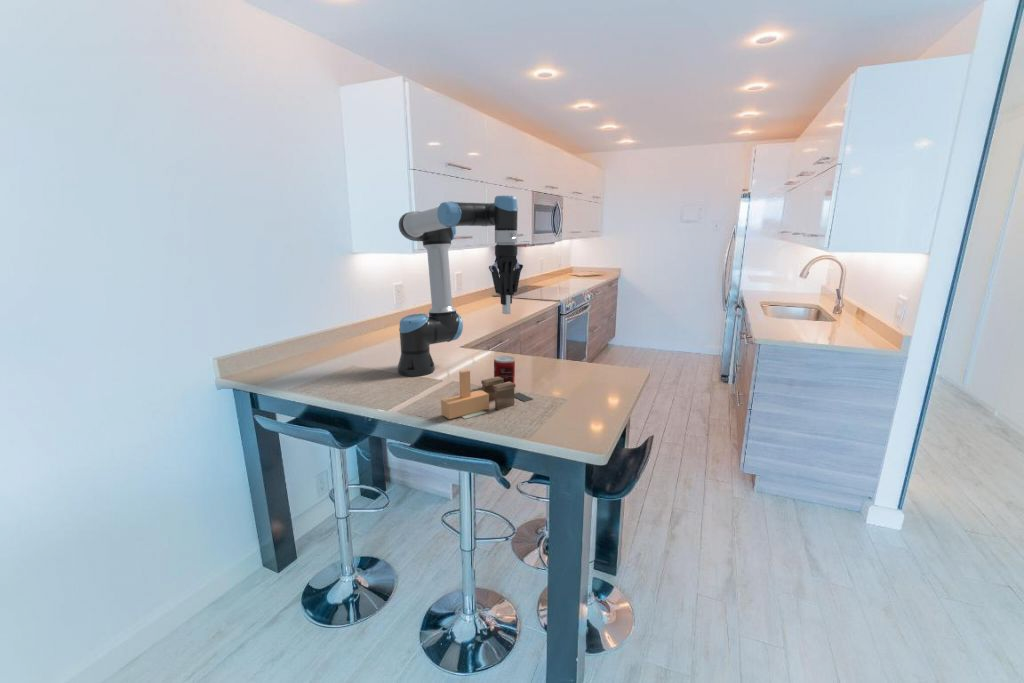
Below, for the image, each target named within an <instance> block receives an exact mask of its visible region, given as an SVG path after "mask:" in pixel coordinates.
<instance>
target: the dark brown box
mask: <svg viewBox="0 0 1024 683" xmlns="http://www.w3.org/2000/svg"><path fill="white" fill-rule="evenodd" d="M502 382H504V379H503V378H501V377H494V376H493V377H490V378H489V377H488V378H486V379H482V380H481V383H480V384H482V389H481V390H482V391H484V392H486V393H488V394H489V403H490V402H493V401H494V403H495V404H494V407H495V410H502V409H505V407H506V408H509V407H512V406H515V397H514V394H515V388H516V383H515V384H514V383H512V382H510V381H509V382H505V383H502Z"/></svg>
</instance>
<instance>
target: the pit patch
mask: <svg viewBox="0 0 1024 683" xmlns="http://www.w3.org/2000/svg"><path fill="white" fill-rule="evenodd" d="M514 399H518V400H519V401H521V402H524V403H525V402H528V401H532V400H533V398H532V397H530V396H529V395H526V394H524V393H521V392H514Z"/></svg>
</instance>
